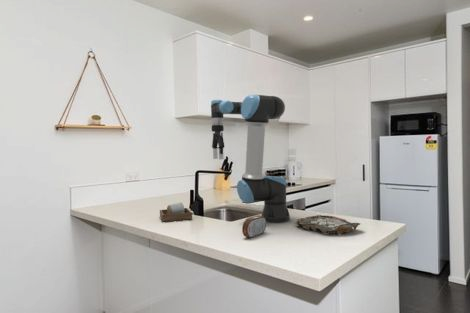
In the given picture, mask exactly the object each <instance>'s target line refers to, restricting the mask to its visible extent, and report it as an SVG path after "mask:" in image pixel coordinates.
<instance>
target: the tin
mask: <svg viewBox="0 0 470 313" xmlns="http://www.w3.org/2000/svg"><path fill="white" fill-rule="evenodd" d="M241 228H242V230H241V232H242V234H243V236H244V237H245V238H249V239H252V238H255V237H257V236H256V235H258V236H260V235H259V234H261V235H262V233H263V234H264V233H265V231H266V230H267V229H266V228H267V222H266V219H265V217H263V216H261V215H259V214H258V215H254V216H250V217H247V218H246V219H245V220H244V222H243V225H242V227H241ZM254 236H255V237H254ZM251 237H252V238H251Z"/></svg>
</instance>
